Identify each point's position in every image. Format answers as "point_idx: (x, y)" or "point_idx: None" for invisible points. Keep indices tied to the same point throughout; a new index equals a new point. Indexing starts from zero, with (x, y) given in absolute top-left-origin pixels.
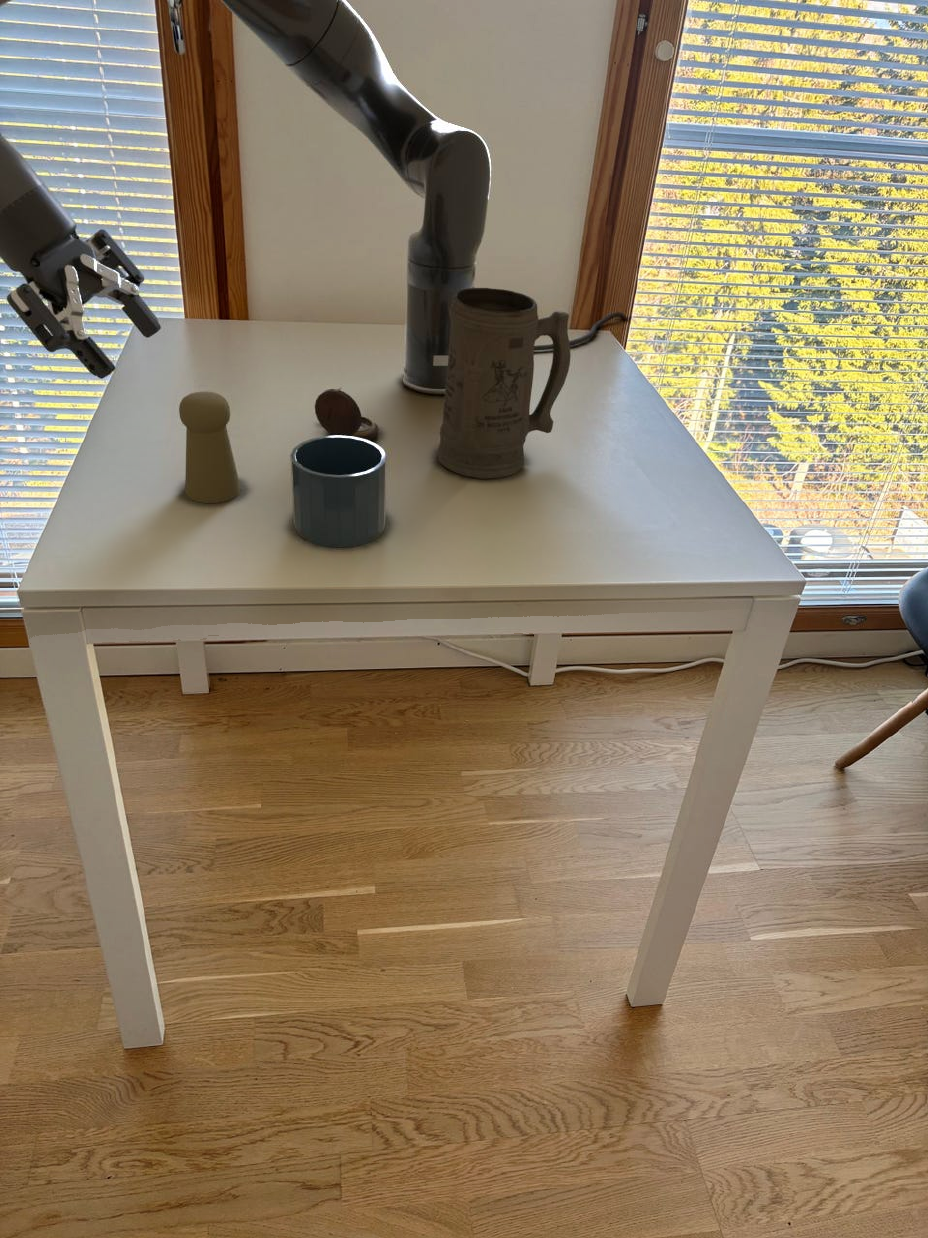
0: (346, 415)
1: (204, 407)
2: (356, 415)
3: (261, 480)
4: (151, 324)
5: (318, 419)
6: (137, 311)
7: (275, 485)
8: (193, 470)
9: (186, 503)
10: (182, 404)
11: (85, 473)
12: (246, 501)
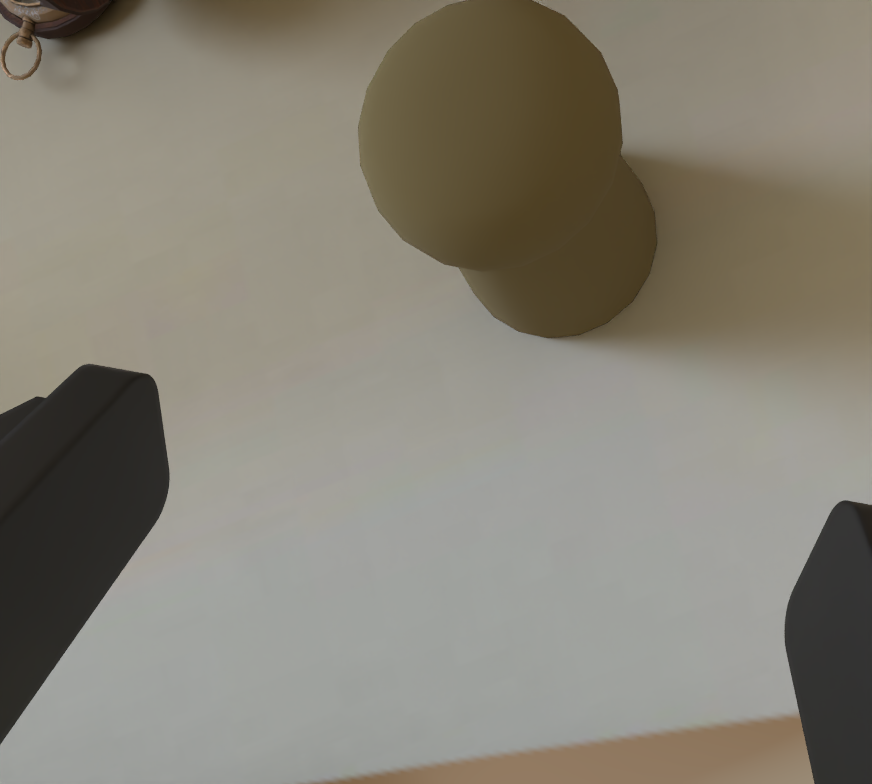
0: None
1: (578, 58)
2: None
3: None
4: (119, 420)
5: (82, 9)
6: (32, 557)
7: None
8: (627, 244)
9: (673, 292)
10: (548, 206)
11: (539, 727)
12: None
